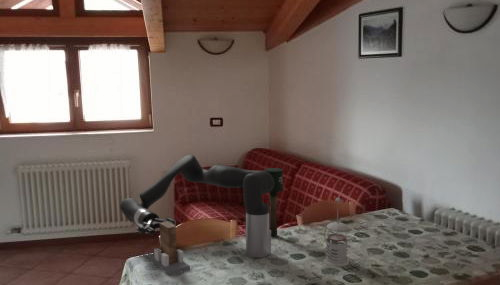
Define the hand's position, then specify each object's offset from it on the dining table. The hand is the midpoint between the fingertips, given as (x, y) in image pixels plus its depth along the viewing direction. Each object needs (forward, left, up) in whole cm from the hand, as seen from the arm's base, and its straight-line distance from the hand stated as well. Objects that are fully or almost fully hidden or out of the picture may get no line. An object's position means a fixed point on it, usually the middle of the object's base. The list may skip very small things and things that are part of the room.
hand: (163, 230), depth 172 cm
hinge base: (-1, +3, -13) cm, 13 cm away
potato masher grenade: (-52, +3, -13) cm, 53 cm away
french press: (-54, +38, -13) cm, 67 cm away
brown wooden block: (-1, +2, -11) cm, 11 cm away
